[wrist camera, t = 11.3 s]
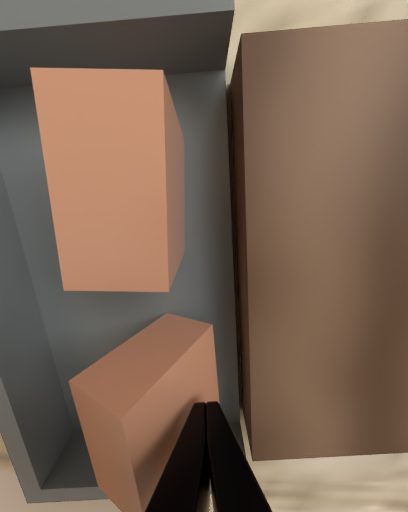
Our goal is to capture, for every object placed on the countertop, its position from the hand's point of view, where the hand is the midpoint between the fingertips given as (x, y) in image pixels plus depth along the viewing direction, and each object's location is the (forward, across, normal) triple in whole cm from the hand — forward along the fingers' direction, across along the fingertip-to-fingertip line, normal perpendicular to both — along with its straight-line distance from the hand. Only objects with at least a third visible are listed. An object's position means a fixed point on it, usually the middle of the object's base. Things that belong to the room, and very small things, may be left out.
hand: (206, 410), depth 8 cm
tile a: (+1, 0, -7) cm, 7 cm away
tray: (+4, +3, -4) cm, 6 cm away
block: (0, +1, 0) cm, 1 cm away
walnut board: (+4, -8, -4) cm, 9 cm away
